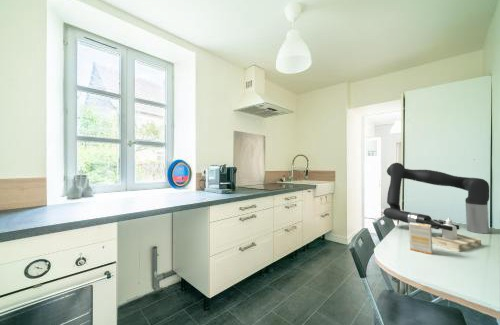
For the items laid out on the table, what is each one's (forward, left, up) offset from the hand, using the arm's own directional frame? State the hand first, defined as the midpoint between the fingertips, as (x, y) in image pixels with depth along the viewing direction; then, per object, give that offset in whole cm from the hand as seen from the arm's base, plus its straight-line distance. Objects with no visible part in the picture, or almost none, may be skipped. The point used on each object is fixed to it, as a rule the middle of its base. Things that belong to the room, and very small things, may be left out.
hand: (455, 228), depth 106 cm
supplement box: (+25, -2, -9) cm, 26 cm away
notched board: (0, 0, -8) cm, 9 cm away
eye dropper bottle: (0, -3, -7) cm, 8 cm away
